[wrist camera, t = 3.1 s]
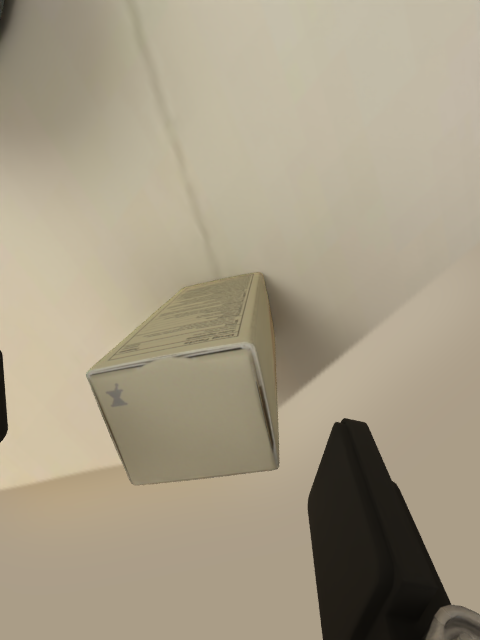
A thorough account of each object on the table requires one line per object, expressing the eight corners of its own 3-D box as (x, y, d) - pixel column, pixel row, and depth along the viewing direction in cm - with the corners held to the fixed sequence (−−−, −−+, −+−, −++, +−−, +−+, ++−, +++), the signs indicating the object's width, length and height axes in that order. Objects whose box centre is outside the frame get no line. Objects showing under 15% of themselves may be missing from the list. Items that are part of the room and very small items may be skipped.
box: (199, 350, 21) (120, 491, 10) (180, 285, 20) (71, 372, 9) (280, 337, 20) (283, 476, 10) (266, 268, 19) (253, 342, 8)
